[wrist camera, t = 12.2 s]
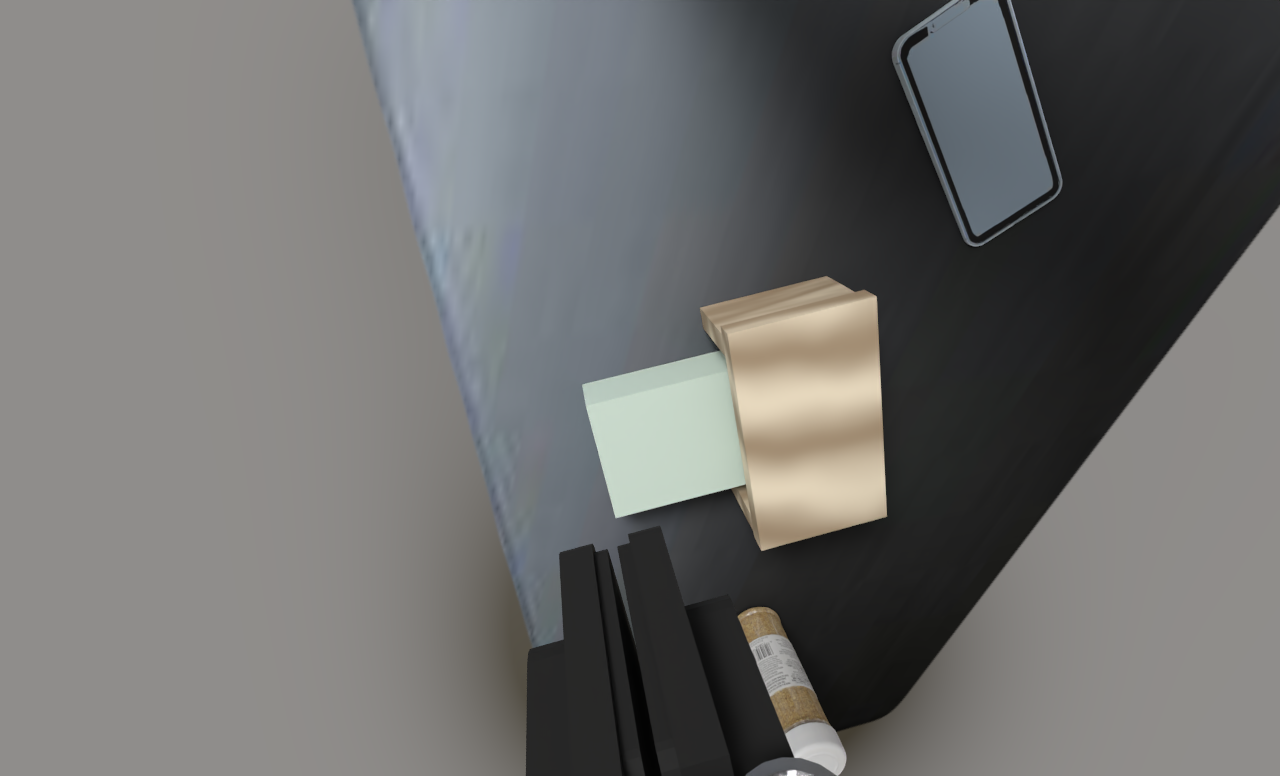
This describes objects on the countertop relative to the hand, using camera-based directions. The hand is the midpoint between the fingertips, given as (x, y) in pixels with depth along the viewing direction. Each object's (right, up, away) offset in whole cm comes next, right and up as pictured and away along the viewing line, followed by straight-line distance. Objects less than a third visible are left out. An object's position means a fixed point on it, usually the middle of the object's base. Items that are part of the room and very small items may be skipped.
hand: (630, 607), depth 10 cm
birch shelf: (+10, +4, +36) cm, 37 cm away
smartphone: (+22, +21, +31) cm, 43 cm away
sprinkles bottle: (+10, -17, +45) cm, 49 cm away
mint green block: (+5, +2, +35) cm, 36 cm away
